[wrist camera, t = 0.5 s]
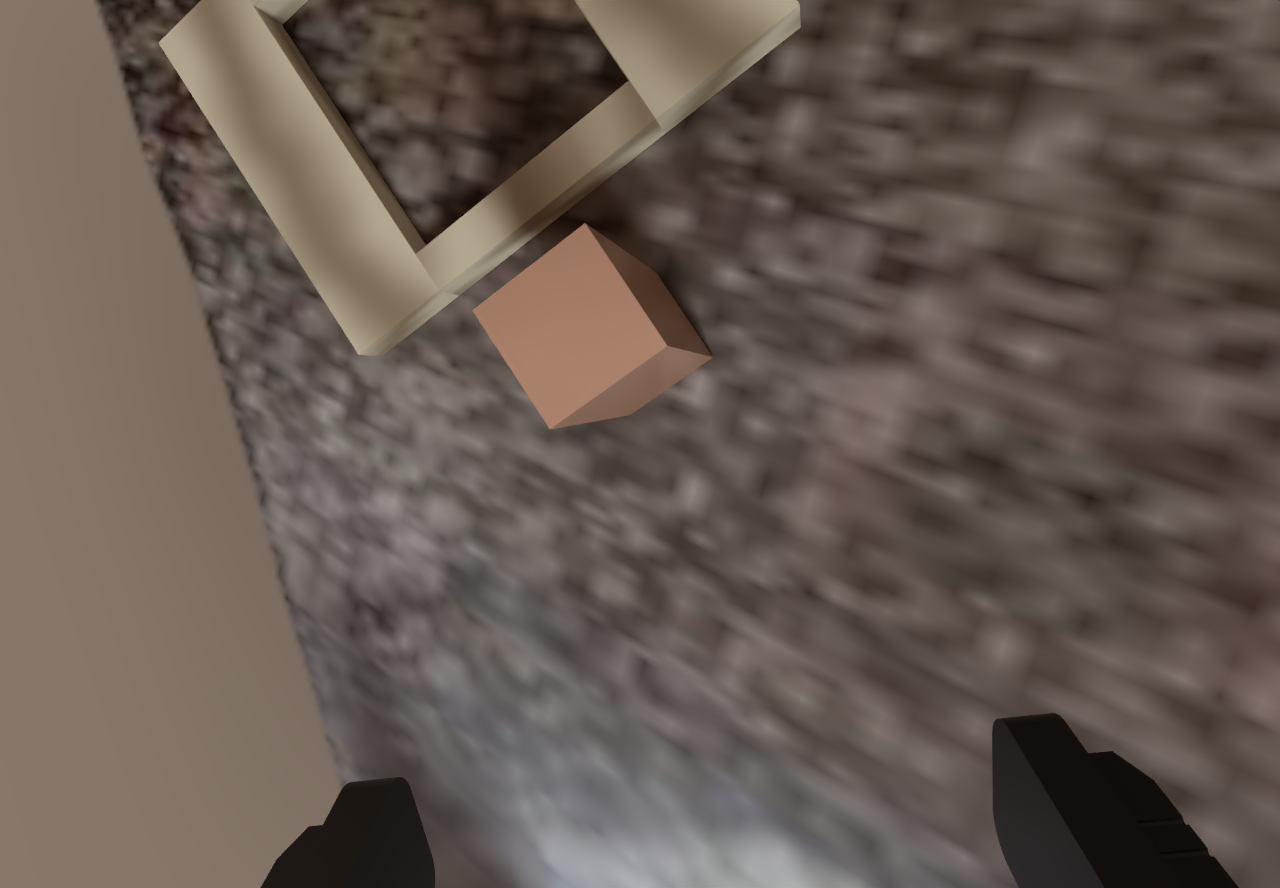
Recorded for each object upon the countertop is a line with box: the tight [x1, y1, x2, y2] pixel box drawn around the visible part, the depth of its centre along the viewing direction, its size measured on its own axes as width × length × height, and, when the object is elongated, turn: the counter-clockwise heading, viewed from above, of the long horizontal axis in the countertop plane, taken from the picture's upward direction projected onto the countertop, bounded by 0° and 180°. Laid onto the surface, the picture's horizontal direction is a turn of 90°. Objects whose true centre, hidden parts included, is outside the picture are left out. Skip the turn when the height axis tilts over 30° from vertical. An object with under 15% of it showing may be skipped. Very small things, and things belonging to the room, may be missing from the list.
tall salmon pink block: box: [472, 223, 713, 429], centre depth 30 cm, size 5×5×11 cm
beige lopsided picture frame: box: [159, 0, 801, 356], centre depth 35 cm, size 24×18×2 cm
